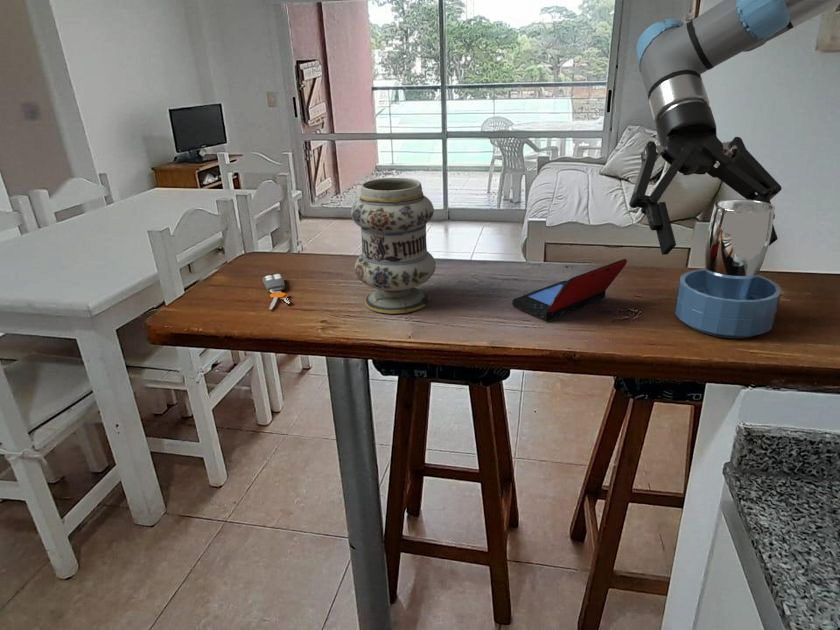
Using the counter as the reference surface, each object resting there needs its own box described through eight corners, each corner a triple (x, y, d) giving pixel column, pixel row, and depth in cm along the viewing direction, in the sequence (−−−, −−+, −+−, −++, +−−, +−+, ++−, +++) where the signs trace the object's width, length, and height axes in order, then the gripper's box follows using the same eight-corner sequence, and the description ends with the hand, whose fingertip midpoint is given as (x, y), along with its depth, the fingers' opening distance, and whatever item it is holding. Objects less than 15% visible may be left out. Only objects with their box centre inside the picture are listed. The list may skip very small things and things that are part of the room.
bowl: (728, 300, 83) (735, 264, 80) (793, 334, 72) (803, 294, 70) (656, 310, 80) (662, 274, 78) (713, 347, 70) (721, 306, 68)
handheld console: (567, 285, 90) (570, 240, 87) (624, 306, 82) (630, 257, 79) (508, 306, 84) (509, 258, 81) (564, 331, 76) (568, 279, 73)
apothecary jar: (427, 320, 81) (422, 193, 73) (347, 315, 83) (334, 192, 76) (443, 288, 91) (440, 174, 84) (371, 285, 94) (362, 174, 86)
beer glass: (681, 312, 78) (699, 203, 72) (719, 302, 80) (740, 195, 74) (725, 332, 72) (748, 215, 66) (764, 320, 74) (790, 207, 68)
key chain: (261, 283, 97) (259, 274, 96) (283, 279, 98) (282, 271, 97) (269, 311, 86) (267, 302, 85) (294, 307, 87) (293, 298, 86)
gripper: (751, 129, 87) (792, 254, 80) (590, 137, 86) (617, 264, 79) (781, 94, 80) (829, 227, 73) (606, 103, 79) (637, 239, 72)
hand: (719, 247), depth 76 cm, fingers open, 13 cm apart
